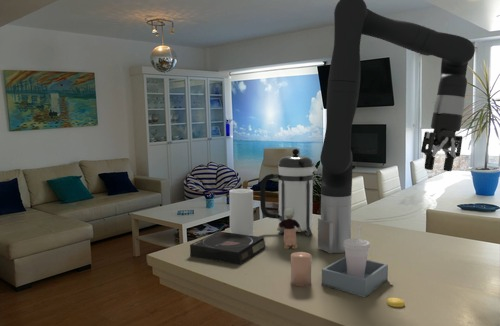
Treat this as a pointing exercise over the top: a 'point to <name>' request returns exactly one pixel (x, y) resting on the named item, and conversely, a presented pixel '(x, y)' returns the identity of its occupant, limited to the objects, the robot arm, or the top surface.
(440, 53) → the robot arm
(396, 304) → the yellow disc
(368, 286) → the tote
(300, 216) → the coffee press
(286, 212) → the grandmother figurine
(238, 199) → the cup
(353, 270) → the smoothie
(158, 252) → the top surface
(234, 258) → the portable cd player
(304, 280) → the canister
